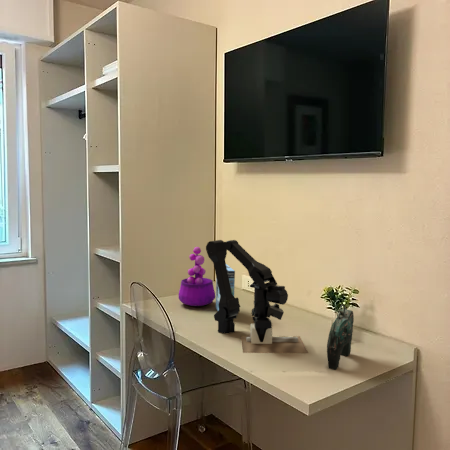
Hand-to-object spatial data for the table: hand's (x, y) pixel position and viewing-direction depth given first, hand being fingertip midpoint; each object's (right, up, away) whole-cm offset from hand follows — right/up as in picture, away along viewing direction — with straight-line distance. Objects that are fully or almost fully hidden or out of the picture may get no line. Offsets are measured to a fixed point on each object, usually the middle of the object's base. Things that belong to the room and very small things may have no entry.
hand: (260, 339), depth 180 cm
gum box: (-14, +2, +41) cm, 43 cm away
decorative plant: (-28, +3, +57) cm, 63 cm away
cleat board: (+4, -2, -3) cm, 6 cm away
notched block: (0, -1, 0) cm, 1 cm away
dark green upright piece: (+27, -4, -15) cm, 32 cm away
